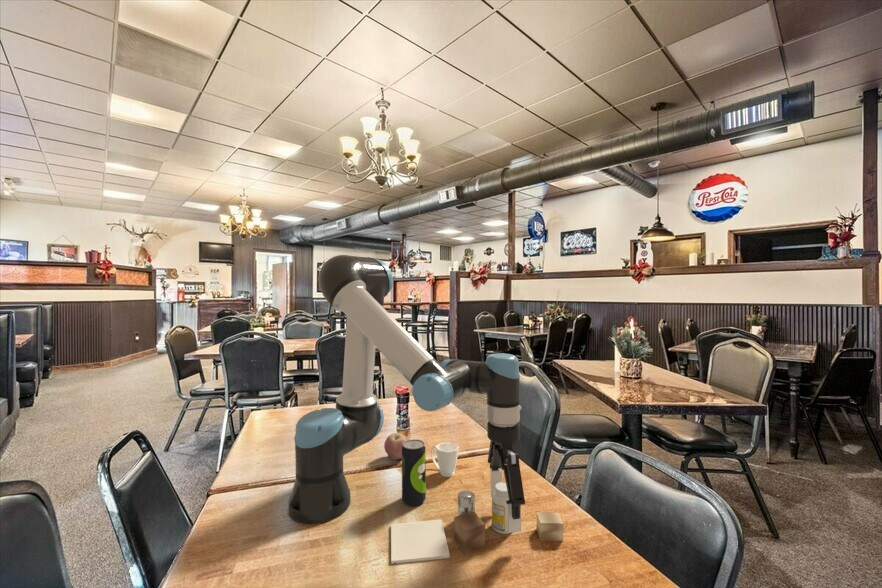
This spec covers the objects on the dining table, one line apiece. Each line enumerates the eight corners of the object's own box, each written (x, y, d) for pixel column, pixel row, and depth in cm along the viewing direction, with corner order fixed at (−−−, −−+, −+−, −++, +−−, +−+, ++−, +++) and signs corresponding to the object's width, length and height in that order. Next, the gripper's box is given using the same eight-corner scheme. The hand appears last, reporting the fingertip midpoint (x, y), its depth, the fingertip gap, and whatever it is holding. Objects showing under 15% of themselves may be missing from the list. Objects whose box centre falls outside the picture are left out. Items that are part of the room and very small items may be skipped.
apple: (380, 462, 120) (380, 437, 120) (390, 452, 127) (390, 428, 127) (403, 465, 117) (403, 440, 117) (412, 454, 125) (412, 431, 125)
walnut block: (464, 553, 78) (464, 530, 78) (454, 539, 83) (454, 516, 83) (485, 547, 80) (485, 524, 80) (474, 533, 85) (474, 511, 85)
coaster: (391, 564, 75) (391, 561, 75) (391, 526, 87) (391, 523, 87) (449, 557, 77) (449, 555, 77) (441, 521, 89) (441, 519, 89)
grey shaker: (459, 525, 88) (459, 500, 87) (456, 515, 92) (456, 491, 91) (476, 524, 88) (476, 499, 88) (472, 514, 92) (472, 490, 92)
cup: (448, 481, 107) (448, 454, 107) (423, 470, 114) (423, 444, 114) (463, 472, 113) (463, 446, 112) (439, 462, 119) (439, 437, 119)
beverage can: (399, 496, 100) (399, 441, 100) (421, 492, 102) (421, 437, 102) (405, 509, 94) (405, 450, 94) (428, 504, 96) (428, 446, 96)
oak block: (540, 540, 82) (540, 522, 82) (536, 529, 86) (536, 512, 86) (563, 541, 82) (563, 523, 82) (558, 529, 86) (558, 512, 86)
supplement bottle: (494, 535, 84) (494, 493, 84) (489, 520, 89) (489, 481, 89) (518, 534, 85) (518, 492, 84) (511, 519, 90) (511, 479, 90)
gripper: (540, 441, 75) (541, 546, 75) (502, 404, 99) (504, 483, 100) (504, 444, 74) (505, 551, 74) (475, 406, 98) (476, 485, 99)
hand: (504, 512), depth 87 cm, fingers open, 13 cm apart
